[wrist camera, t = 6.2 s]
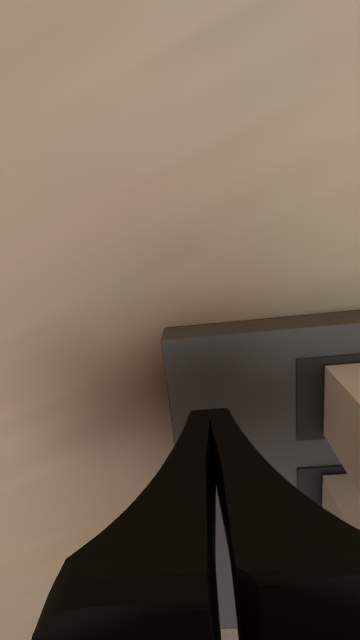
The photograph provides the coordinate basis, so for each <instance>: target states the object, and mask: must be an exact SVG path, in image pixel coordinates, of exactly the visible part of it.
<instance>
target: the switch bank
mask: <svg viewBox="0 0 360 640" xmlns="http://www.w3.org/2000/svg"><path fill="white" fill-rule="evenodd" d="M161 344H162V352H163V359H164V367H165V374H166V382H167V389H168V397H169V404H170V412H171V419H172V427H173V434H174V442H175V444H176V442H177V440H178V438H179V436H180V434H181V432H182V430H183V428H184V426H185V423H186V421H187V418H188V415H189V413H190V412H191V411H192V410H204V409H217V408H227V409H228V410H230V413H231V414H232V416H233V418H234V420H235V421H236V423H237V424H238V426H239V427H240V429H241V430H242V432H243V433H244V434H245V436H246V437H247V438H248V439H249V441H250V442H251V443H252V445H253V446H254V447H255V448H256V449H257V450H258V452H259V453H260V454H261V455H262V456H263V457H264V458H265V459H266V460H267V461H268V462H269V463H270V465H271V466H272V467H273V468H274V469H275V470H277V471H278V472H279V473H280V474H281V475H282V476H283V477H284V478H285V479H286V480H287V481H289V482H290V483H291V484H292V485H293V486H295V487H296V488H297V489H298V490H299V491H301V492H302V493H303V494H305V495H306V496H308V497H309V498H310V499H312V500H313V501H314V502H316V503H317V504H318V505H320V506H321V507H322V486H323V475H338V474H347V472H346V470H345V469H344V467H343V466H342V464H341V462H340V461H339V459H338V457H337V456H336V454H335V452H334V451H333V449H332V448H331V446H330V444H329V443H328V441H327V439H326V438H325V436H324V388H325V366H330V365H342V364H354V363H360V310H356V311H345V312H334V313H323V314H312V315H302V316H291V317H280V318H269V319H258V320H247V321H236V322H226V323H215V324H204V325H193V326H182V327H171V328H164V331H163V335H162V339H161ZM216 576H217V590H218V603H219V617H220V629H232V628H238V627H237V618H236V609H235V599H234V590H233V581H232V571H231V564H230V557H229V551H228V546H227V540H226V535H225V530H224V525H223V519H222V514H221V509H220V504H219V498H218V493H217V488H216Z"/></svg>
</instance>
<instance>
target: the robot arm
mask: <svg viewBox="0 0 360 640" xmlns="http://www.w3.org/2000/svg"><path fill="white" fill-rule="evenodd" d="M216 488H217V493H218V498H219V504H220V509H221V514H222V519H223V525H224V530H225V535H226V540H227V546H228V551H229V557H230V564H231V571H232V581H233V590H234V599H235V609H236V618H237V627H238V637H239V640H360V530H359V529H357V528H355V527H354V526H352V525H350V524H348V523H346V522H345V521H343V520H341V519H340V518H338V517H337V516H335V515H333V514H332V513H330V512H329V511H327V510H326V509H324V508H323V507H321V506H320V505H318V504H317V503H316V502H314V501H313V500H312V499H310V498H309V497H308V496H306V495H305V494H303V493H302V492H301V491H299V490H298V489H297V488H296V487H295V486H293V485H292V484H291V483H290V482H289V481H287V480H286V479H285V478H284V477H283V476H282V475H281V474H280V473H279V472H278V471H277V470H275V469H274V468H273V467H272V466H271V465H270V463H269V462H268V461H267V460H266V459H265V458H264V457H263V456H262V455H261V454H260V453H259V452H258V450H257V449H256V448H255V447H254V446H253V445H252V443H251V442H250V441H249V439H248V438H247V437H246V436H245V434H244V433H243V432H242V430H241V429H240V427H239V426H238V424H237V423H236V421H235V420H234V418H233V416H232V414H231V413H230V410H228V409H227V408H217V409H204V410H192V411H191V412H190V413H189V415H188V418H187V421H186V423H185V426H184V428H183V430H182V432H181V434H180V436H179V438H178V440H177V442H176V444H175V446H174V448H173V449H172V451H171V453H170V454H169V456H168V457H167V459H166V461H165V462H164V464H163V465H162V467H161V468H160V470H159V471H158V473H157V474H156V475H155V477H154V478H153V479H152V481H151V482H150V483H149V484H148V486H147V487H146V488H145V489H144V490H143V492H142V493H141V494H140V495H139V496H138V497H137V498H136V500H135V501H134V502H133V503H132V504H131V505H130V506H129V507H128V508H127V509H126V510H125V511H124V512H123V513H122V514H121V515H120V516H119V517H118V518H117V519H116V520H114V521H113V522H112V523H111V524H110V525H109V526H108V527H107V528H106V529H105V530H103V531H102V532H101V533H100V534H98V535H97V536H96V537H95V538H93V539H92V540H91V541H89V542H88V543H87V544H85V545H84V546H83V547H82V548H80V549H79V550H78V551H76V552H75V553H74V554H72V555H71V556H69V557H68V558H67V559H66V560H65V562H64V564H63V566H62V568H61V570H60V572H59V574H58V576H57V578H56V580H55V582H54V584H53V586H52V588H51V590H50V592H49V594H48V597H47V600H46V602H45V605H44V607H43V610H42V612H41V615H40V618H39V620H38V623H37V625H36V628H35V631H34V633H33V636H32V640H221V631H220V617H219V603H218V590H217V576H216Z"/></svg>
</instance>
